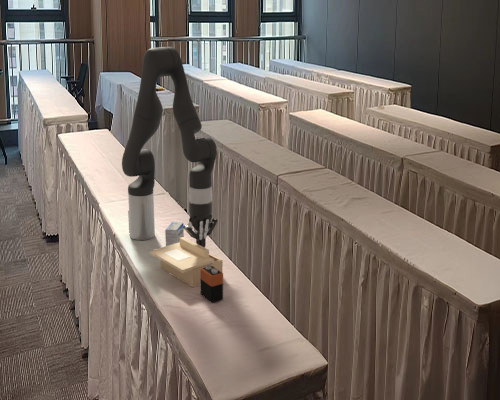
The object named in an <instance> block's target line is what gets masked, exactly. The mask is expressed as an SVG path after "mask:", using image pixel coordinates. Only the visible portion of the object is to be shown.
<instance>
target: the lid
mask: <svg viewBox="0 0 500 400" xmlns="http://www.w3.org/2000/svg"><path fill="white" fill-rule="evenodd" d="M209 253H210V249H208V248H206V247H205V248H204V247H202V246H201V245H199V244H197V243H196V241H195V242H194V241H193V240H191V239H189V238H187V237H185V236H184V237H181V238H180V242H179V243H175V244H172V245H169V246H166V245H165V246H162V247H159V248H156V249H152V250H150V251H149V255H151V256H153V257H154V258H156V259H158V260H160V262H161V261H163V262H165V263H166V264H168V265H170V266H171V267H173V268H175V269H177V270H178V271H180V272H182V273H184V272H187V271H190V270H193V269H196V268H199V267H202V266H205V265H208V264H211V263H214V259H212V258H211V257H209Z"/></svg>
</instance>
